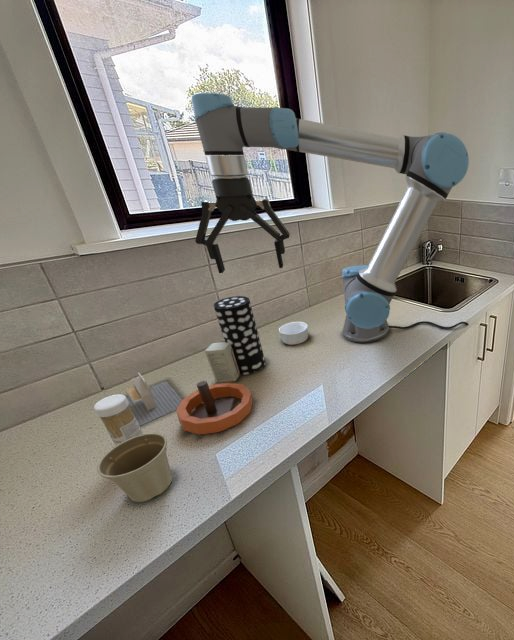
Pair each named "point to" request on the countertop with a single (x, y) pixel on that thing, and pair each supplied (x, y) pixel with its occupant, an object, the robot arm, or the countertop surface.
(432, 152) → the robot arm
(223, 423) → the ring
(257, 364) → the spotted tube
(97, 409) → the sprinkles bottle
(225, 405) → the stand
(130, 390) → the architectural model
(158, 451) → the flower pot
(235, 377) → the pale small box
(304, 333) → the ramekin
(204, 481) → the countertop surface
